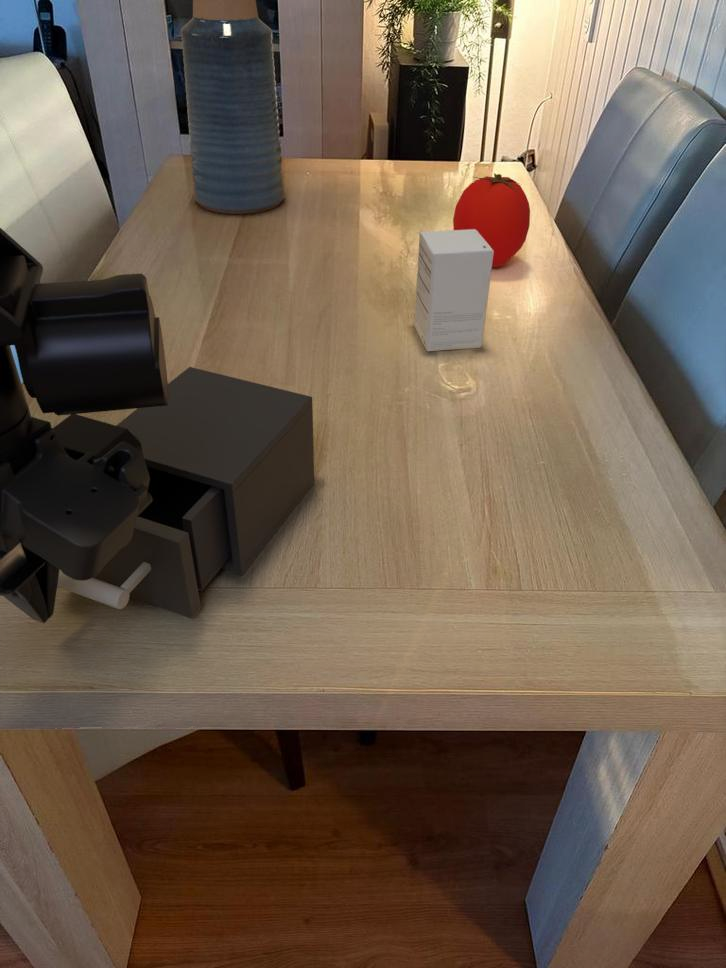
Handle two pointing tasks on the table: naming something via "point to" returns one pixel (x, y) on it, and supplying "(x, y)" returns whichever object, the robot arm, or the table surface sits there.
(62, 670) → the table surface
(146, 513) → the drawer
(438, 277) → the white packaging box
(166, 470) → the cabinet casing
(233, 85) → the vase
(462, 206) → the tomato
